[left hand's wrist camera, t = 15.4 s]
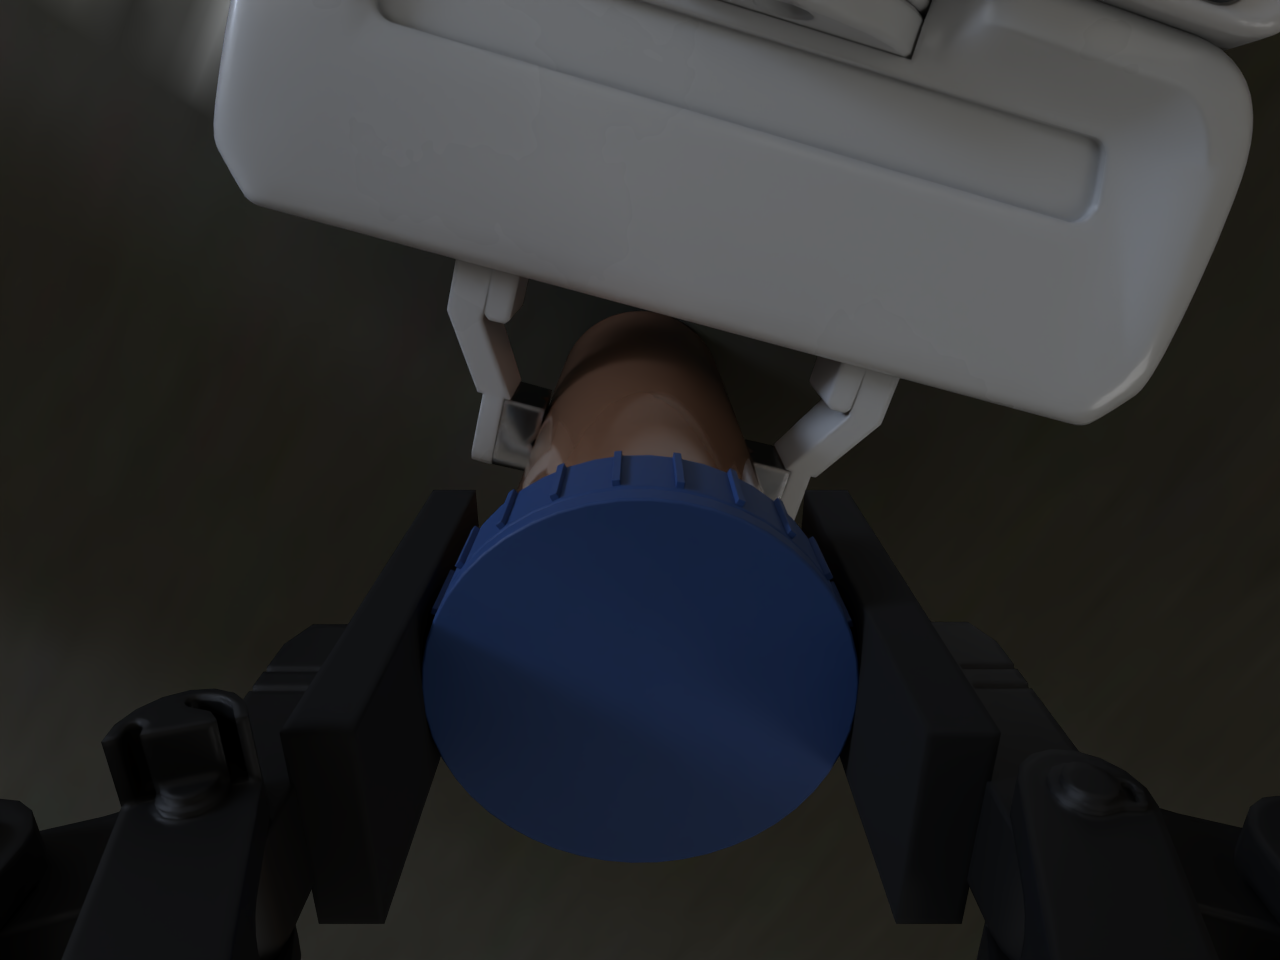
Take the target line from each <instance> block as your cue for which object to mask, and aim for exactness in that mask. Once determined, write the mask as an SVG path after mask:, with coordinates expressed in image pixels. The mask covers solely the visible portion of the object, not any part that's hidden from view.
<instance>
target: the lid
mask: <svg viewBox="0 0 1280 960" xmlns="http://www.w3.org/2000/svg"><path fill="white" fill-rule="evenodd" d="M455 566H456V567H457V568H456V571H454V570H450V571H449V574H448V576H447V578H446V580H445V582H444V584H443V586H442V588H441V591H440V593H439V595H438V597H437V599H436V601H435V603H434V606H433V608H432V610H431V614H433V615H435V617H434V619H433V622H432V625H431V628H430V631H429V634H428V637H427V640H426V644H425V650H424V655H423V661H422V689H423V698H424V706H425V714H426V719H427V722H428V725H429V728H430V732H431V735H432V738H433V740H434V742H435V744H436V746H437V748H438V750H439V752H440V754H441V757H442V759H443V760H444V762H445V763H446V765H447V766H448V768H449V769H450V771H451V772H452V774H453V775H454V777H455V778H456V779H457V781H458V782H459V783H460V784H461V785H462V786H463V787H464V789H465V790H466V791H467V792H468V793H469V794H470V795H471V797H473V798H474V799H475V800H476V801H477V802H478V803H479V804H480V805H482V806H483V807H484V808H485V809H486V810H487V811H488V812H489V813H491V814H492V815H494V816H495V817H496V818H498V819H499V820H501V821H502V822H504V823H505V824H506V825H508V826H509V827H511V828H513V829H515V830H517V831H518V832H520V833H522V834H524V835H526V836H528V837H529V838H531V839H533V840H536V841H538V842H541V843H543V844H546V845H548V846H551V847H553V848H555V849H559V850H562V851H566V852H569V853H573V854H576V855H579V856H584V857H590V858H595V859H601V860H607V861H619V862H630V863H635V862H663V861H672V860H681V859H686V858H691V857H695V856H700V855H705V854H709V853H712V852H715V851H718V850H721V849H724V848H727V847H730V846H733V845H735V844H737V843H740V842H742V841H744V840H746V839H749V838H751V837H753V836H755V835H757V834H759V833H760V832H762V831H764V830H766V829H767V828H769V827H771V826H772V825H774V824H776V823H777V822H779V821H780V820H781V819H783V818H784V817H785V816H787V815H788V814H789V813H791V812H792V811H793V810H795V809H796V808H797V807H798V806H799V805H800V804H801V803H802V802H803V801H804V800H805V799H807V798H808V797H809V796H810V795H811V794H812V793H813V792H814V791H815V789H816V788H817V787H818V786H819V785H820V783H821V782H822V781H823V780H824V778H825V777H826V776H827V775H828V773H829V772H830V770H831V769H832V767H833V765H834V764H835V762H836V760H837V759H838V757H839V755H840V754H841V752H842V750H843V747H844V745H845V743H846V740H847V738H848V736H849V733H850V731H851V727H852V723H853V720H854V716H855V710H856V702H857V693H858V685H859V668H858V657H857V652H856V647H855V643H854V638H853V634H852V632H851V629H850V627H853V622H852V619H851V617H850V615H849V613H848V611H847V609H846V606H845V604H844V602H843V600H842V598H841V596H840V594H839V591H838V589H837V587H836V585H835V583H834V581H832V582H830V581H829V580H830V579H832V578H833V576H832V574H831V571H830V569H829V567H828V565H827V563H826V561H825V559H824V557H823V554H822V552H821V550H820V548H819V546H818V544H817V542H816V540H815V538H814V537H813V536H812V537H811V538H809V539H808V538H807V536H806V535H805V534H804V532H803V531H802V530H801V529H800V527H799V526H798V525H797V524H796V522H795V521H794V520H793V519H792V518H791V517H790V516H789V515H788V513H787V511H786V508H785V506H784V504H783V501H782V500H780V499H779V498H776V499H775V500H774V501H773V500H772V499H770V498H769V497H768V496H766V495H765V494H763V493H762V492H761V491H759V490H758V489H756V488H755V487H754V486H752V485H750V484H748V483H746V482H744V481H742V480H741V479H739V478H738V475H737V472H736V471H735V470H733V469H729V471H728V472H727V473H726V472H724V471H721V470H718V469H716V468H713V467H710V466H708V465H705V464H701V463H697V462H692V461H688V460H684V459H682V457H681V453H675V452H674V453H673V457H663V456H654V455H629V456H622V451H615V452H614V457H609V458H602V459H595V460H591V461H588V462H584V463H580V464H577V465H573V466H569V467H567V468H566V465H565V463H563V464H560V465H558V466H557V469H556V472H555V473H552V474H550V475H547V476H545V477H543V478H541V479H540V480H538V481H536V482H534V483H533V484H531V485H529V486H527V487H526V488H524V489H522V490H521V491H519V492H518V493H517V492H516V491H515V489H513V490H512V491H510V492H509V493H508V495H507V498H506V500H505V503H504V504H503V505H501V506H500V507H499V508H498V509H497V510H496V511H495V512H494V513H493V514H492V515H491V516H490V517H489V518H488V520H487V521H486V522H485V523H484V524H483V525H482V526H481V528H478V527H477V526H474V527H473V529H472V530H471V532H470V534H469V537H468V539H467V541H466V543H465V545H464V547H463V549H462V552H461V554H460V556H459V558H458V560H457V562H456V565H455Z"/></svg>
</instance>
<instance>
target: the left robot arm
mask: <svg viewBox="0 0 1280 960" xmlns="http://www.w3.org/2000/svg"><path fill="white" fill-rule="evenodd" d="M474 526H477V527H478V528H479V526H478V514H477V502H476V490H433V492H432V493H431V495H430V496H429V498H428V500H427V501H426V503H425V504H424V506H423V507H422V509H421V511H420V512H419V514H418V515H417V517H416V518H415V520H414V522H413V523H412V525H411V526H410V528H409V529H408V531H407V533H406V534H405V536H404V537H403V539H402V540H401V542H400V544H399V545H398V547H397V548H396V550H395V552H394V553H393V555H392V556H391V558H390V559H389V561H388V563H387V564H386V566H385V567H384V569H383V570H382V572H381V574H380V575H379V577H378V578H377V580H376V581H375V583H374V585H373V586H372V588H371V589H370V591H369V592H368V594H367V596H366V597H365V599H364V600H363V602H362V603H361V605H360V607H359V608H358V610H357V611H356V613H355V614H354V616H353V618H352V619H351V621H350V622H349V624H313V625H311V626H310V627H308V628H307V629H306V630H304V631H303V632H301V633H300V634H298V635H297V636H295V637H294V638H292V639H291V640H290V641H288V642H287V643H285V644H284V645H283V646H282V648H281V649H280V651H279V652H278V653H277V655H276V656H275V657H274V659H273V660H272V661H271V663H270V664H269V665H268V667H267V672H263V673H262V675H261V676H260V677H259V679H258V680H257V681H256V683H255V684H254V686H253V691H249V692H248V694H247V695H246V696H245V698H244V699H241V698H240V697H239V696H238V695H236V694H235V693H233V692H228V691H223V690H219V689H202V690H189V691H185V692H181V693H177V694H174V695H170V696H166V697H162V698H160V699H158V700H156V701H153V702H151V703H149V704H147V705H145V706H143V707H140V708H138V709H136V710H135V711H133V712H132V713H130V714H129V715H128V716H126V717H125V718H124V719H122V720H121V721H119V722H118V723H117V724H115V725H114V726H113V728H112V729H111V730H110V731H109V733H108V734H107V735H106V737H105V738H104V739H103V740H102V742H101V743H102V746H103V749H104V752H105V756H106V759H107V762H108V765H109V768H110V772H111V775H112V778H113V781H114V784H115V788H116V791H117V794H118V797H119V801H120V804H121V810H120V812H117V813H114V814H111V815H107V816H104V817H100V818H95V819H91V820H86V821H82V822H78V823H73V824H69V825H64V826H60V827H55V828H51V829H47V830H42V831H39V829H38V826H37V823H36V820H35V818H34V815H33V812H32V810H31V809H29V808H28V807H27V806H25V805H24V804H23V803H21V802H20V801H15V800H6V799H0V960H301V951H300V945H299V938H298V934H297V929H296V925H295V924H296V922H297V920H298V918H299V916H300V913H301V911H302V909H303V907H304V905H305V902H306V900H307V898H308V896H309V894H310V891H311V889H312V893H313V898H314V903H315V907H316V912H317V917H318V922H319V924H384V923H385V920H386V917H387V914H388V911H389V908H390V905H391V902H392V899H393V896H394V893H395V890H396V888H397V885H398V882H399V879H400V876H401V873H402V870H403V867H404V864H405V861H406V858H407V855H408V852H409V849H410V846H411V843H412V840H413V837H414V834H415V831H416V828H417V825H418V822H419V819H420V816H421V813H422V810H423V807H424V804H425V801H426V799H427V796H428V793H429V790H430V787H431V784H432V781H433V778H434V775H435V772H436V769H437V766H438V763H439V760H440V757H441V754H440V752H439V750H438V748H437V746H436V744H435V742H434V740H433V738H432V735H431V732H430V728H429V725H428V722H427V719H426V714H425V706H424V698H423V689H422V661H423V655H424V650H425V644H426V640H427V637H428V634H429V631H430V628H431V625H432V622H433V619H434V617H435V615H433V614H431V610H432V608H433V606H434V603H435V601H436V599H437V597H438V595H439V593H440V591H441V588H442V586H443V584H444V582H445V580H446V578H447V576H448V574H449V571H450V570H454V571H456V568H457V567H456V566H455V565H456V562H457V560H458V558H459V556H460V554H461V552H462V549H463V547H464V545H465V543H466V541H467V539H468V537H469V534H470V532H471V530H472V529H473V527H474ZM802 531H803V532H804V534H805V535H806V536H807V538H808V539H809V538H811V537H812V536H813V537H814V538H815V540H816V542H817V544H818V546H819V548H820V550H821V552H822V554H823V557H824V559H825V561H826V563H827V565H828V567H829V569H830V571H831V574H832V576H833V578H832V579H830V580H829V581H830V582H832V581H834V583H835V585H836V587H837V589H838V591H839V594H840V596H841V598H842V600H843V602H844V604H845V606H846V609H847V611H848V613H849V615H850V617H851V619H852V622H853V627H850V629H851V632H852V634H853V638H854V643H855V647H856V652H857V657H858V668H859V685H858V693H857V702H856V710H855V716H854V720H853V723H852V727H851V731H850V733H849V736H848V738H847V740H846V743H845V745H844V747H843V750H842V752H841V754H840V755H839V756H840V759H841V762H842V765H843V768H844V770H845V773H846V776H847V779H848V782H849V785H850V788H851V791H852V794H853V797H854V800H855V803H856V806H857V809H858V812H859V815H860V818H861V821H862V824H863V827H864V830H865V833H866V836H867V839H868V842H869V845H870V848H871V851H872V854H873V856H874V859H875V862H876V865H877V868H878V871H879V874H880V877H881V880H882V883H883V886H884V889H885V892H886V895H887V898H888V901H889V904H890V907H891V910H892V913H893V916H894V919H895V922H896V924H962V919H963V915H964V910H965V905H966V900H967V895H968V890H969V886H970V889H971V891H972V893H973V895H974V897H975V900H976V902H977V904H978V906H979V908H980V911H981V913H982V915H983V917H984V919H985V925H984V929H983V934H982V938H981V943H980V947H979V952H978V956H977V960H1280V796H1274V797H1265V798H1262V799H1260V800H1259V801H1258V802H1256V803H1255V804H1254V805H1252V806H1251V807H1250V809H1249V811H1248V814H1247V817H1246V819H1245V822H1244V825H1243V828H1240V827H1235V826H1231V825H1226V824H1222V823H1218V822H1213V821H1209V820H1204V819H1200V818H1195V817H1191V816H1186V815H1182V814H1178V813H1174V812H1171V811H1168V810H1164V809H1161V808H1159V806H1158V805H1157V803H1156V802H1155V800H1154V799H1153V797H1152V796H1151V794H1150V793H1149V791H1148V790H1147V788H1146V787H1144V786H1143V785H1142V784H1141V783H1140V782H1138V781H1137V780H1136V779H1135V778H1134V777H1132V776H1131V775H1130V774H1129V773H1127V772H1126V771H1124V770H1122V769H1120V768H1119V767H1117V766H1115V765H1113V764H1111V763H1109V762H1107V761H1105V760H1103V759H1101V758H1098V757H1094V756H1091V755H1087V754H1084V753H1081V752H1079V751H1078V750H1077V748H1076V747H1075V746H1074V744H1073V743H1072V742H1071V740H1070V739H1069V738H1068V736H1067V735H1066V734H1065V732H1064V731H1063V730H1062V728H1061V727H1060V726H1059V724H1058V723H1057V722H1056V720H1055V719H1054V717H1053V716H1052V715H1051V713H1050V712H1049V711H1048V709H1047V708H1046V707H1045V705H1044V704H1043V703H1042V701H1041V700H1040V699H1039V697H1038V696H1037V695H1036V693H1035V692H1034V691H1033V689H1029V688H1028V683H1027V681H1026V680H1025V679H1024V677H1023V676H1022V675H1021V673H1020V672H1019V671H1018V669H1014V664H1013V663H1012V661H1011V660H1010V659H1009V657H1008V656H1007V655H1006V653H1005V652H1004V651H1003V649H1002V648H1001V647H1000V645H999V644H998V643H997V642H996V641H995V640H994V639H992V638H991V637H989V636H988V635H986V634H985V633H983V632H982V631H980V630H979V629H977V628H976V627H975V626H973V625H972V624H970V623H969V622H931V621H930V620H929V618H928V617H927V615H926V614H925V612H924V610H923V609H922V607H921V606H920V604H919V603H918V601H917V599H916V598H915V596H914V595H913V593H912V592H911V590H910V588H909V587H908V585H907V584H906V582H905V581H904V579H903V577H902V576H901V574H900V573H899V571H898V570H897V568H896V566H895V565H894V563H893V562H892V560H891V559H890V557H889V555H888V554H887V552H886V551H885V549H884V548H883V546H882V544H881V543H880V541H879V540H878V538H877V537H876V535H875V533H874V532H873V530H872V529H871V527H870V526H869V524H868V522H867V521H866V519H865V518H864V516H863V515H862V513H861V511H860V510H859V508H858V507H857V505H856V504H855V502H854V500H853V499H852V497H851V496H850V494H849V493H848V491H847V490H805V495H804V507H803V519H802Z"/></svg>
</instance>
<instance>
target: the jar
mask: <svg viewBox="0 0 1280 960" xmlns="http://www.w3.org/2000/svg"><path fill="white" fill-rule="evenodd" d="M615 451H622V456H629V455H654V456H663V457H673V453H674V452H675V453H681V457H682V459H684V460H688V461H692V462H697V463H701V464H705V465H708V466H710V467H713V468H716V469H718V470H721V471H724V472H726V473H727V472H728V471H729V469H733V470H735V471H736V472H737V475H738V478H739V479H741V480H742V481H744V482H746V483H748V484H750V485H752V486H754V487H755V488H756V489H758V490H759V491H761V492H762V493H763V494H765V492H764V490H763V487H762V484H761V482H760V479H759V476H758V474H757V471H756V469H755V466H754V463H753V461H752V458H751V455H750V453H749V450H748V447H747V445H746V442H745V440H744V437H743V434H742V432H741V429H740V426H739V424H738V421H737V419H736V416H735V413H734V411H733V408H732V405H731V403H730V400H729V398H728V395H727V392H726V390H725V387H724V384H723V382H722V379H721V376H720V374H719V371H718V369H717V366H716V363H715V361H714V359H713V356H712V354H711V352H710V351H709V349H708V347H707V346H706V344H705V343H704V342H703V340H702V339H701V338H700V337H699V336H698V335H697V334H696V333H695V332H694V331H693V330H692V329H690V328H689V327H688V326H686V325H685V324H684V323H682V322H680V321H678V320H676V319H674V318H672V317H669V316H667V315H663V314H659V313H655V312H647V311H631V312H626V313H620V314H617V315H614V316H611V317H609V318H606V319H604V320H602V321H600V322H599V323H597V324H596V325H594V326H592V327H591V328H590V329H589V330H588V331H586V332H585V333H584V334H583V335H582V336H581V338H580V339H579V340H578V341H577V342H576V344H575V345H574V347H573V348H572V349H571V351H570V353H569V355H568V357H567V359H566V362H565V365H564V367H563V370H562V372H561V375H560V378H559V380H558V383H557V386H556V388H555V391H554V394H553V396H552V399H551V401H550V404H549V407H548V410H547V412H546V415H545V417H544V420H543V423H542V425H541V428H540V430H539V433H538V436H537V438H536V441H535V443H534V446H533V449H532V451H531V454H530V457H529V459H528V462H527V465H526V467H525V470H524V472H523V475H522V478H521V480H520V483H519V486H518V488H517V491H516V492H517V493H518V492H519V491H521V490H522V489H524V488H526V487H527V486H529V485H531V484H533V483H534V482H536V481H538V480H540V479H541V478H543V477H545V476H547V475H550V474H552V473H555V472H556V469H557V466H558V465H560V464H563V463H565V465H566V468H567V467H569V466H573V465H577V464H580V463H584V462H588V461H591V460H595V459H602V458H609V457H614V452H615Z"/></svg>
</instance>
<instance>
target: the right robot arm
mask: <svg viewBox="0 0 1280 960" xmlns="http://www.w3.org/2000/svg"><path fill="white" fill-rule="evenodd" d="M1279 32H1280V0H231V2H230V7H229V13H228V18H227V23H226V29H225V35H224V42H223V48H222V55H221V62H220V69H219V77H218V85H217V92H216V100H215V112H214V138H215V142H216V146H217V148H218V150H219V152H220V154H221V156H222V158H223V159H224V161H225V163H226V165H227V166H228V168H229V170H230V172H231V174H232V175H233V177H234V179H235V181H236V182H237V184H238V186H239V187H240V189H241V191H242V192H243V194H244V195H245V197H246V198H247V199H248V200H249V201H250V202H252V203H254V204H256V205H258V206H261V207H264V208H268V209H271V210H275V211H279V212H282V213H286V214H290V215H294V216H297V217H301V218H305V219H309V220H312V221H316V222H320V223H323V224H327V225H331V226H335V227H338V228H342V229H346V230H350V231H353V232H357V233H361V234H364V235H368V236H372V237H376V238H379V239H383V240H387V241H391V242H394V243H398V244H402V245H406V246H409V247H413V248H417V249H420V250H424V251H428V252H432V253H435V254H439V255H443V256H447V257H450V258H454V259H456V261H455V267H454V272H453V278H452V284H451V290H450V295H449V301H448V307H447V311H448V314H449V317H450V319H451V322H452V325H453V327H454V330H455V333H456V335H457V338H458V341H459V343H460V346H461V349H462V352H463V354H464V357H465V360H466V362H467V365H468V368H469V370H470V373H471V376H472V378H473V381H474V384H475V386H476V389H477V392H480V393H483V396H482V401H481V406H480V411H479V416H478V421H477V426H476V431H475V436H474V442H473V447H472V459H474V460H477V461H481V462H484V463H488V464H495V465H500V466H504V467H509V468H513V469H518V470H522V471H524V470H525V467H526V465H527V462H528V459H529V457H530V454H531V451H532V449H533V446H534V443H535V441H536V438H537V436H538V433H539V430H540V428H541V425H542V423H543V420H544V417H545V415H546V412H547V410H548V407H549V402H550V398H551V393H552V390H550V389H546V388H543V387H539V386H536V385H532V384H529V383H525V382H521V377H520V374H519V371H518V367H517V364H516V361H515V358H514V355H513V351H512V348H511V345H510V342H509V338H508V335H507V332H506V329H505V326H504V324H505V323H506V322H508V321H509V320H510V319H511V318H512V317H513V316H514V315H515V314H516V312H517V311H518V310H519V309H520V308H521V307H522V306H523V302H524V298H525V293H526V289H527V284H528V280H529V279H532V280H536V281H540V282H544V283H547V284H551V285H555V286H558V287H562V288H566V289H570V290H573V291H577V292H581V293H585V294H588V295H592V296H596V297H599V298H603V299H607V300H611V301H614V302H618V303H622V304H626V305H629V306H633V307H637V308H640V309H644V310H648V311H652V312H655V313H659V314H663V315H667V316H670V317H674V318H678V319H681V320H685V321H689V322H693V323H696V324H700V325H704V326H708V327H711V328H715V329H719V330H723V331H726V332H730V333H734V334H737V335H741V336H745V337H749V338H752V339H756V340H760V341H764V342H767V343H771V344H775V345H778V346H782V347H786V348H790V349H793V350H797V351H801V352H805V353H808V354H812V355H816V356H817V359H816V362H815V365H814V368H813V371H812V374H811V377H810V380H809V381H810V383H811V386H812V387H813V388H814V389H815V391H816V392H817V393H818V394H819V396H820V397H821V398H822V399H821V400H820V401H819V402H818V403H817V404H816V405H815V406H814V407H813V408H812V409H811V410H810V411H809V412H807V413H806V414H805V415H804V416H803V417H802V418H801V419H800V420H799V421H798V422H797V423H796V424H795V425H794V426H793V427H792V428H790V429H789V430H788V431H787V432H786V433H785V434H784V435H783V436H782V437H781V438H780V439H779V440H778V441H777V442H776V443H774V446H772V445H767V444H763V443H759V442H754V441H750V440H746V439H744V440H745V442H746V445H747V447H748V450H749V453H750V455H751V458H752V461H753V463H754V466H755V469H756V471H757V474H758V476H759V479H760V482H761V484H762V487H763V490H764V492H765V495H766V496H768V497H769V498H770V499H772V500H773V501H774V500H775V499H776V498H779V499H780V500H782V501H783V504H784V506H785V508H786V511H787V513H788V515H789V516H790V517H791V518H792V519H793V520H795V517H796V515H797V512H798V509H799V507H800V504H801V501H802V499H803V496H804V493H805V490H806V488H807V485H808V482H809V480H810V477H817V476H818V475H819V474H821V473H822V472H823V471H824V470H826V469H827V468H828V467H829V466H830V465H832V464H833V463H834V462H835V461H837V460H838V459H839V458H840V457H842V456H843V455H844V454H845V453H846V452H848V451H849V450H850V449H851V448H853V447H854V446H855V445H856V444H858V443H859V442H860V441H861V440H862V439H864V438H865V437H866V436H867V435H869V434H870V433H871V432H872V431H874V430H875V429H876V428H877V427H878V426H880V425H881V423H882V421H883V418H884V416H885V413H886V411H887V409H888V406H889V404H890V401H891V399H892V396H893V394H894V391H895V389H896V386H897V384H898V381H899V379H900V378H902V379H905V380H909V381H913V382H916V383H920V384H924V385H928V386H931V387H935V388H939V389H943V390H946V391H950V392H954V393H957V394H961V395H965V396H969V397H972V398H976V399H980V400H984V401H987V402H991V403H995V404H999V405H1002V406H1006V407H1010V408H1013V409H1017V410H1021V411H1025V412H1028V413H1032V414H1036V415H1040V416H1043V417H1047V418H1051V419H1055V420H1058V421H1062V422H1066V423H1070V424H1074V425H1087V424H1090V423H1092V422H1093V421H1095V420H1097V419H1099V418H1101V417H1102V416H1104V415H1106V414H1107V413H1109V412H1111V411H1112V410H1114V409H1115V408H1117V407H1119V406H1120V405H1122V404H1123V403H1125V402H1126V401H1128V400H1129V399H1131V398H1132V397H1134V396H1135V395H1136V394H1137V393H1138V392H1139V391H1141V390H1142V388H1143V387H1144V386H1145V384H1146V383H1147V382H1148V380H1149V379H1150V378H1151V376H1152V374H1153V373H1154V371H1155V369H1156V368H1157V366H1158V364H1159V362H1160V361H1161V359H1162V357H1163V355H1164V354H1165V352H1166V350H1167V348H1168V346H1169V344H1170V342H1171V340H1172V338H1173V336H1174V334H1175V332H1176V330H1177V328H1178V326H1179V324H1180V322H1181V320H1182V318H1183V316H1184V314H1185V312H1186V310H1187V308H1188V306H1189V303H1190V301H1191V299H1192V297H1193V295H1194V293H1195V291H1196V289H1197V286H1198V284H1199V282H1200V280H1201V278H1202V275H1203V273H1204V271H1205V269H1206V266H1207V264H1208V262H1209V260H1210V257H1211V255H1212V253H1213V251H1214V248H1215V246H1216V244H1217V242H1218V239H1219V237H1220V234H1221V232H1222V229H1223V227H1224V224H1225V221H1226V219H1227V216H1228V214H1229V211H1230V209H1231V206H1232V204H1233V201H1234V199H1235V196H1236V193H1237V191H1238V188H1239V185H1240V182H1241V180H1242V176H1243V173H1244V170H1245V167H1246V163H1247V159H1248V155H1249V150H1250V146H1251V139H1252V132H1253V108H1252V100H1251V95H1250V91H1249V88H1248V85H1247V82H1246V80H1245V78H1244V76H1243V74H1242V72H1241V71H1240V69H1239V68H1238V66H1237V65H1236V64H1235V62H1234V61H1233V60H1232V59H1231V58H1230V57H1229V56H1228V55H1227V54H1226V53H1225V52H1224V50H1228V49H1231V48H1235V47H1238V46H1241V45H1245V44H1248V43H1251V42H1254V41H1258V40H1261V39H1264V38H1267V37H1269V36H1273V35H1275V34H1277V33H1279Z"/></svg>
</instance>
